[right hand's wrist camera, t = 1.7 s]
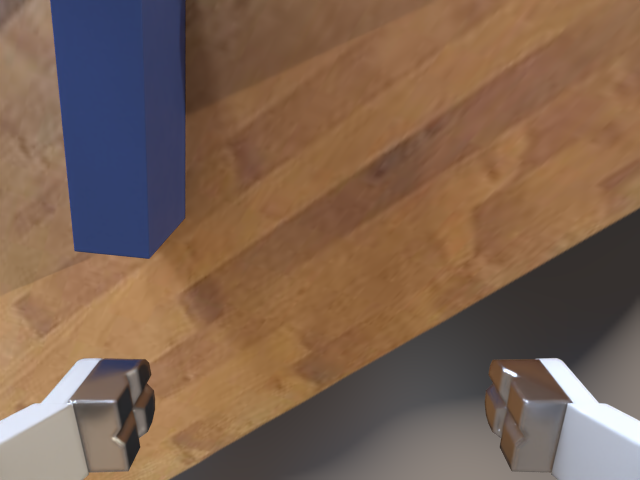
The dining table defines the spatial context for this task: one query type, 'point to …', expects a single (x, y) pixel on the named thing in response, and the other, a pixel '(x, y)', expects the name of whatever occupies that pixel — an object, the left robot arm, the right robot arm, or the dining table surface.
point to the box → (122, 120)
